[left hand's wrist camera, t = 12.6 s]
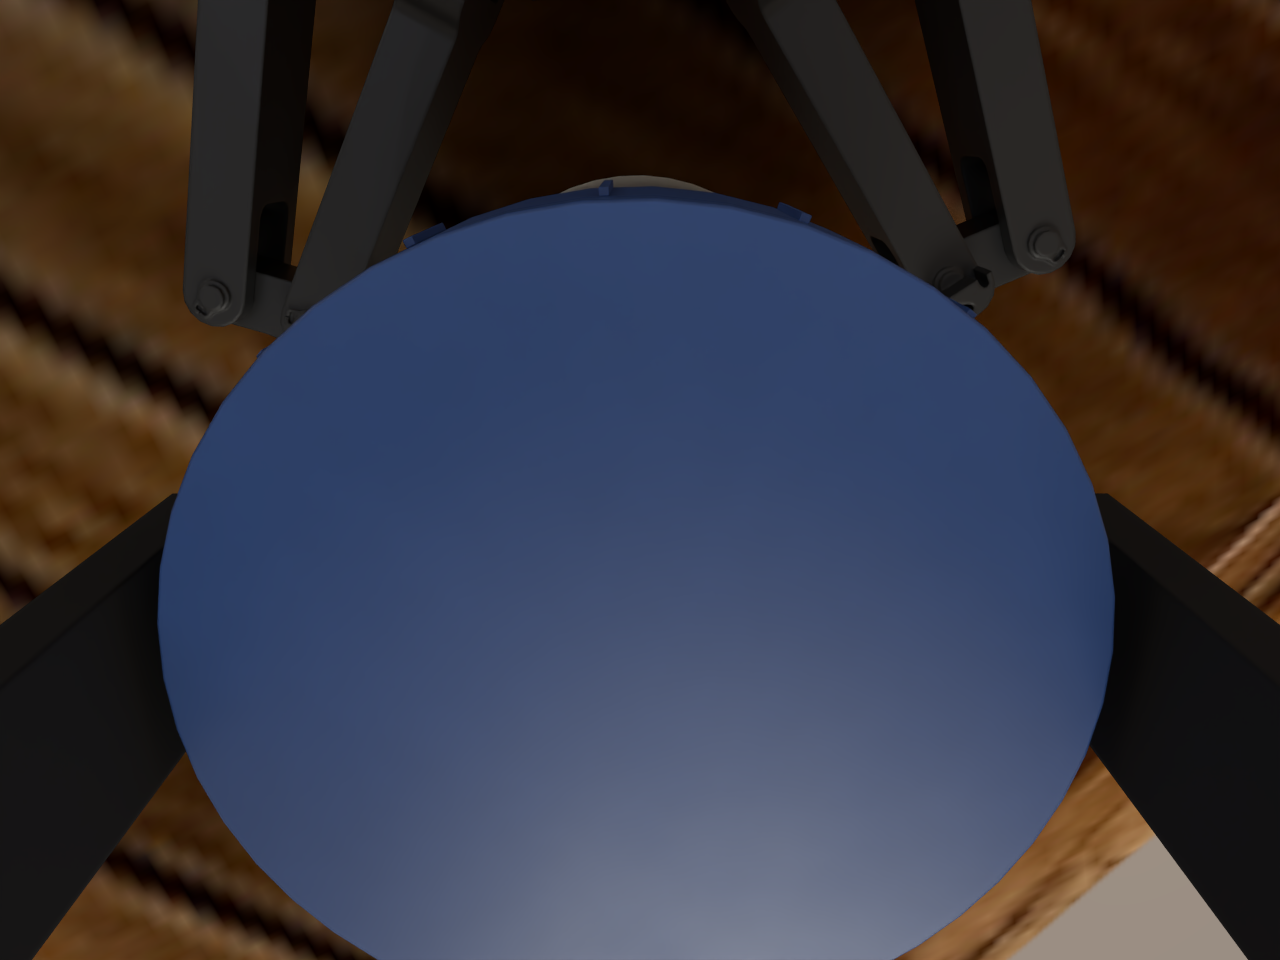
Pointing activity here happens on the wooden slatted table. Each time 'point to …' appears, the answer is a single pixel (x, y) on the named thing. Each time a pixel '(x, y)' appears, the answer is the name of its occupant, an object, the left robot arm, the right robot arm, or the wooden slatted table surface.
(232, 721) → the lid
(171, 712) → the left robot arm
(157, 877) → the wooden slatted table surface
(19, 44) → the wooden slatted table surface
